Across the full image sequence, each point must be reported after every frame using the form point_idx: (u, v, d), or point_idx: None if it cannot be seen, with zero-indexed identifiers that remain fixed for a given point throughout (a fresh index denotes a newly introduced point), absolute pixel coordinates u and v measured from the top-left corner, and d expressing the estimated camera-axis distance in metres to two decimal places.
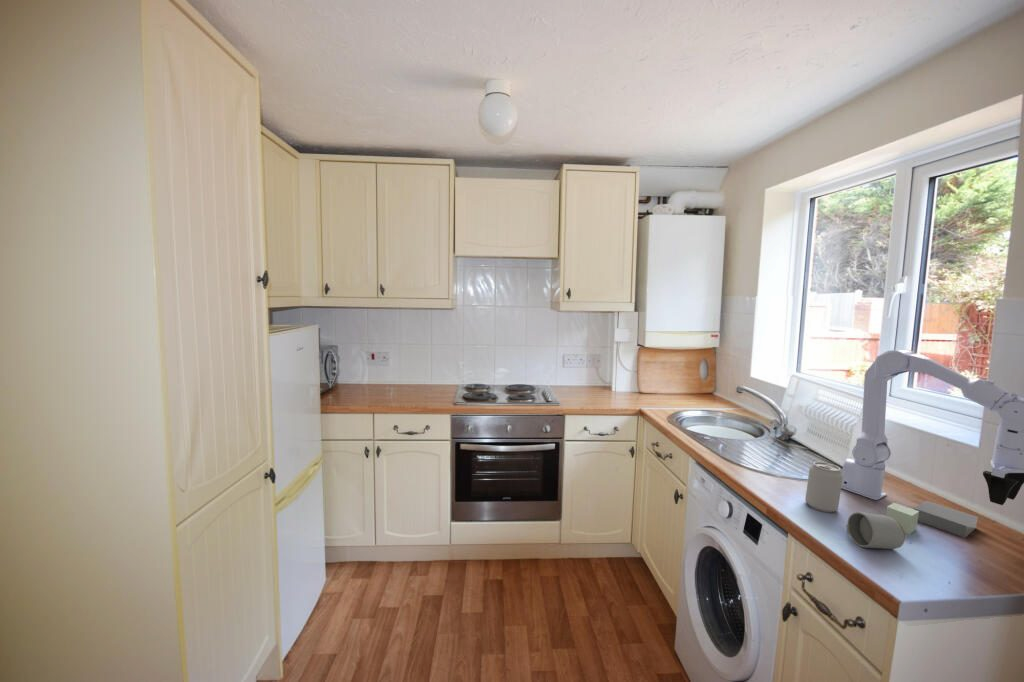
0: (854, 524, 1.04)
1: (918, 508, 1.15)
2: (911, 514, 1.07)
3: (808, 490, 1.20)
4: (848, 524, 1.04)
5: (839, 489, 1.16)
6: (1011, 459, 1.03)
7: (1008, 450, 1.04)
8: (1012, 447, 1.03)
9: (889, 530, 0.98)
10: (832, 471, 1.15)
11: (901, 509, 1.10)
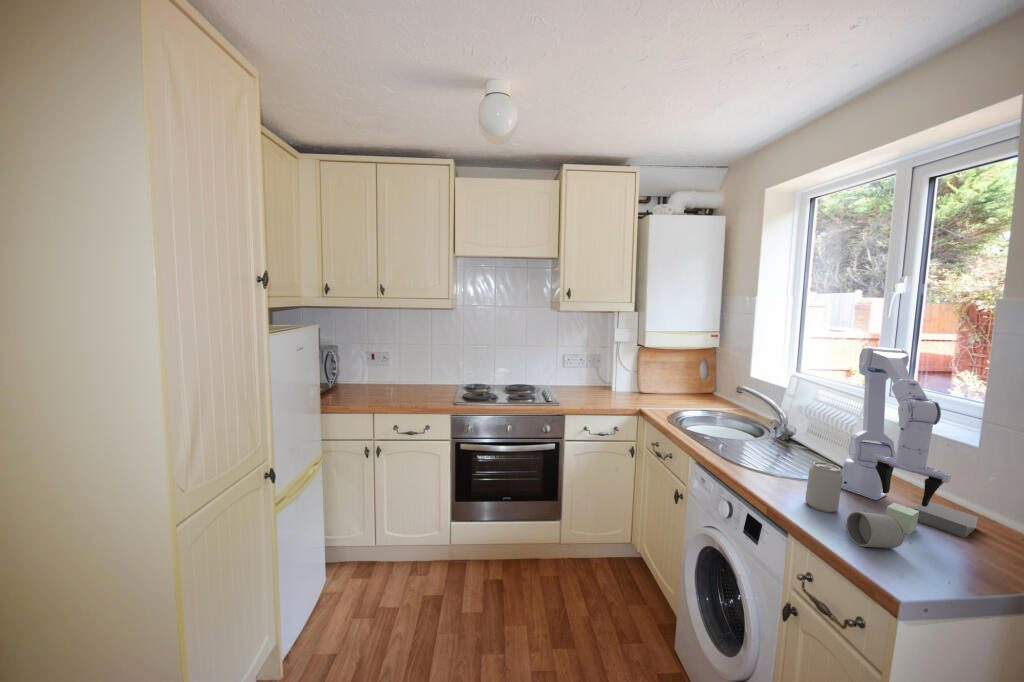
0: (853, 523, 1.05)
1: (918, 508, 1.15)
2: (911, 514, 1.07)
3: (808, 490, 1.20)
4: (847, 523, 1.05)
5: (839, 489, 1.16)
6: (896, 453, 1.11)
7: None
8: (900, 443, 1.09)
9: (888, 529, 0.98)
10: (832, 471, 1.15)
11: (901, 509, 1.10)
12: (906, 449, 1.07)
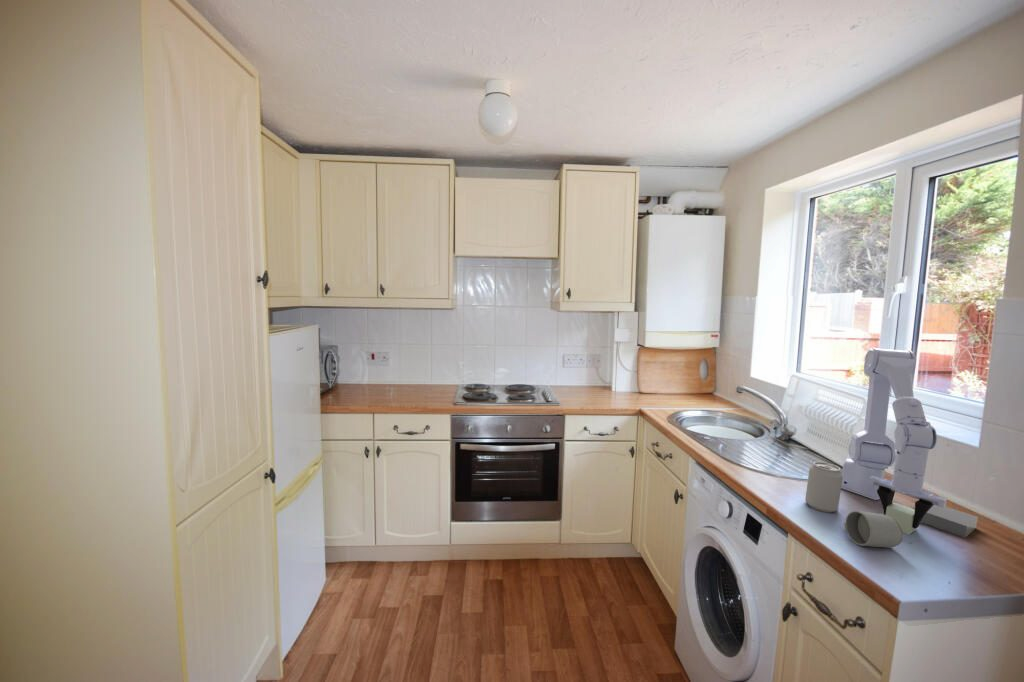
0: (852, 523, 1.05)
1: None
2: (911, 514, 1.07)
3: (808, 490, 1.20)
4: (846, 523, 1.05)
5: (839, 489, 1.16)
6: None
7: None
8: (896, 467, 1.10)
9: (887, 528, 0.98)
10: (832, 471, 1.16)
11: (901, 509, 1.10)
12: (902, 473, 1.08)
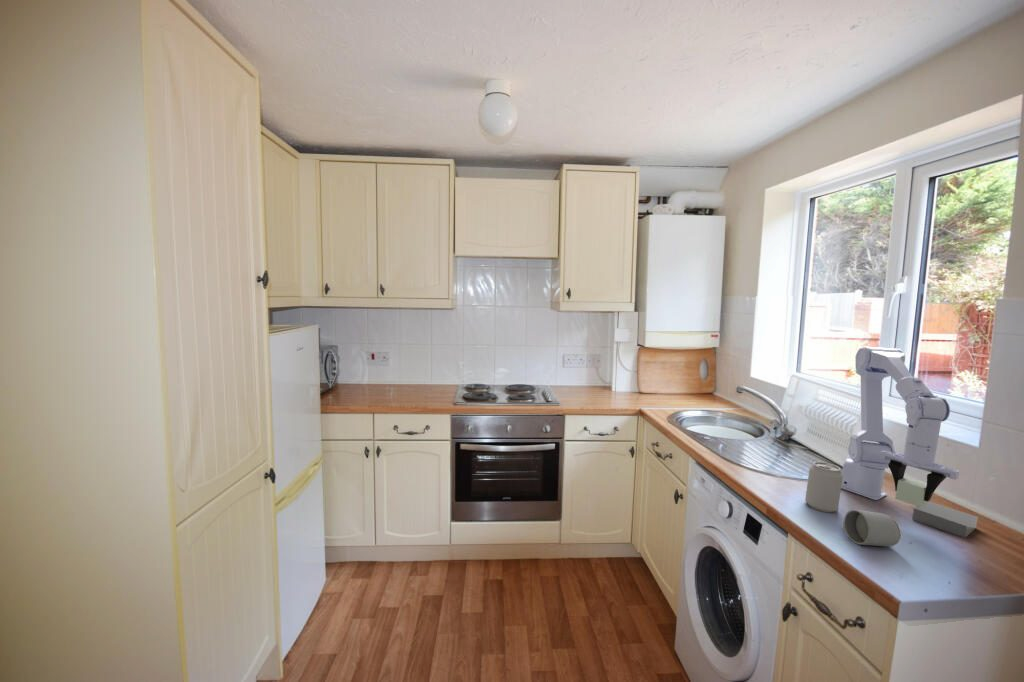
0: (850, 522, 1.06)
1: (918, 508, 1.15)
2: (923, 487, 1.07)
3: (808, 490, 1.20)
4: (845, 522, 1.06)
5: (839, 489, 1.16)
6: (904, 450, 1.11)
7: None
8: (909, 441, 1.09)
9: (885, 527, 0.99)
10: (832, 471, 1.15)
11: (913, 482, 1.10)
12: (914, 446, 1.08)
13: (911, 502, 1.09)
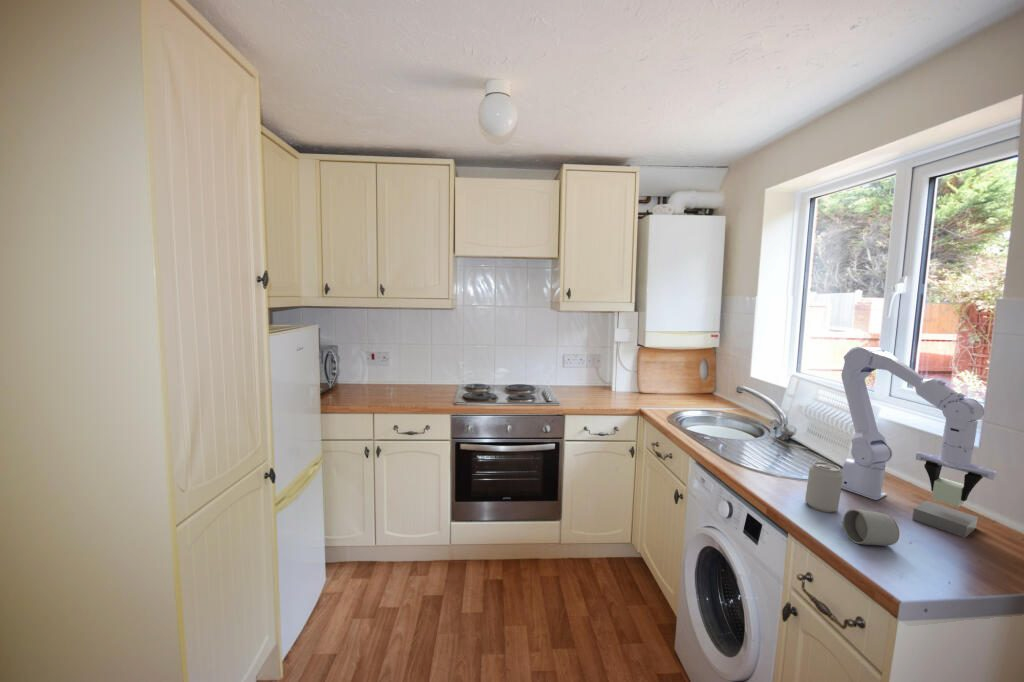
0: (849, 521, 1.06)
1: (918, 508, 1.15)
2: (960, 487, 1.10)
3: (808, 490, 1.20)
4: (844, 521, 1.06)
5: (839, 489, 1.16)
6: (940, 451, 1.14)
7: None
8: (954, 444, 1.10)
9: (884, 526, 0.99)
10: (832, 471, 1.15)
11: (949, 483, 1.12)
12: (951, 447, 1.11)
13: (948, 502, 1.11)
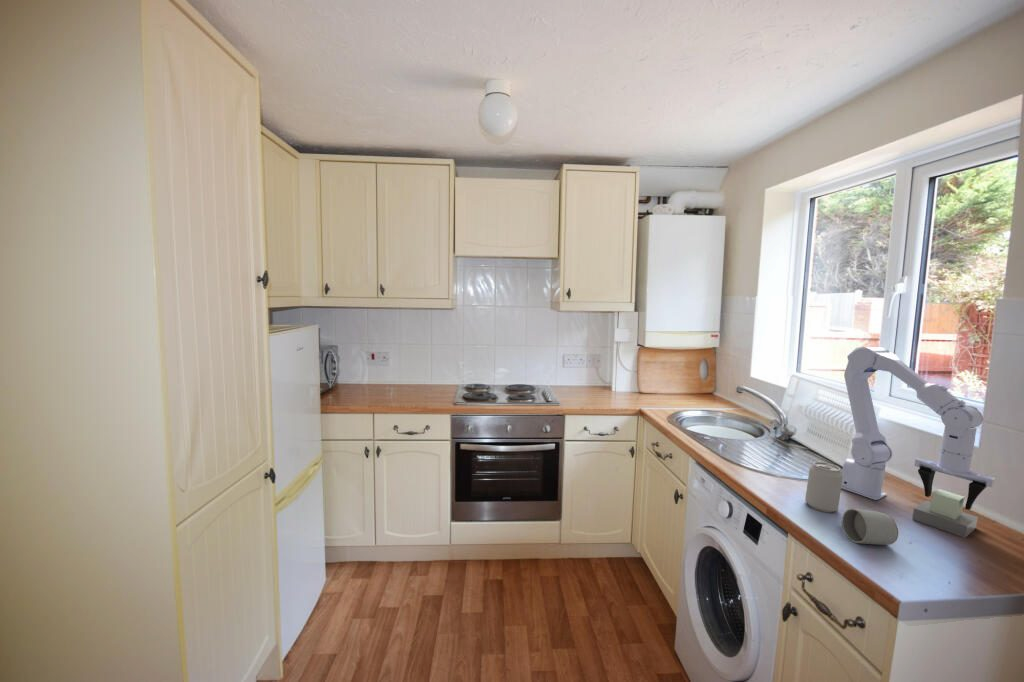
0: (848, 520, 1.06)
1: (918, 508, 1.15)
2: (958, 499, 1.10)
3: (808, 490, 1.20)
4: (843, 520, 1.06)
5: (839, 489, 1.16)
6: (939, 457, 1.14)
7: None
8: (953, 451, 1.10)
9: (883, 526, 0.99)
10: (832, 471, 1.15)
11: (947, 495, 1.13)
12: (950, 454, 1.11)
13: (945, 514, 1.12)
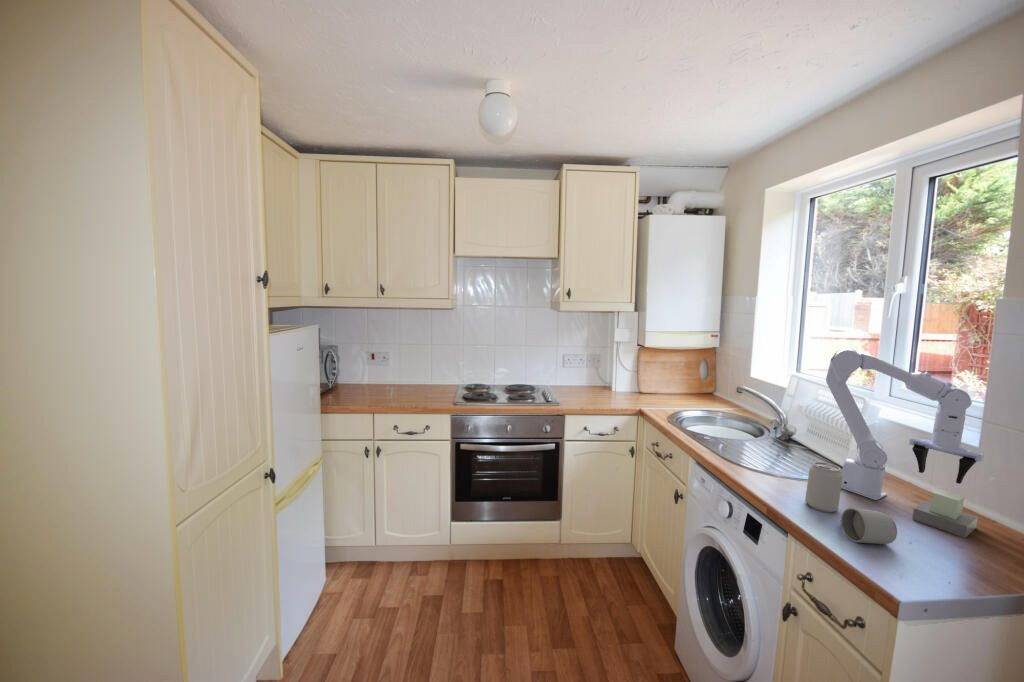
0: (847, 520, 1.06)
1: (918, 508, 1.15)
2: (958, 499, 1.10)
3: (808, 490, 1.20)
4: (842, 520, 1.06)
5: (839, 489, 1.16)
6: (932, 436, 1.22)
7: None
8: (953, 431, 1.17)
9: (881, 525, 1.00)
10: (832, 471, 1.15)
11: (947, 495, 1.13)
12: (942, 432, 1.19)
13: (945, 514, 1.12)
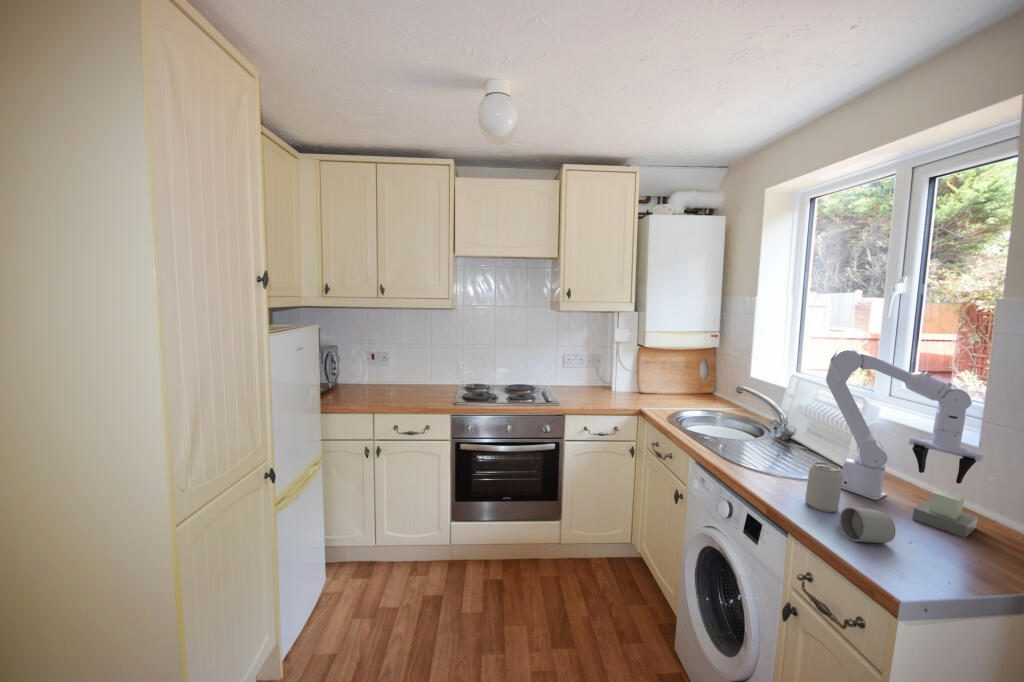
0: (846, 519, 1.07)
1: (918, 508, 1.15)
2: (958, 499, 1.10)
3: (808, 490, 1.20)
4: (840, 519, 1.07)
5: (839, 489, 1.16)
6: (932, 436, 1.22)
7: None
8: (953, 431, 1.17)
9: (880, 524, 1.00)
10: (832, 471, 1.15)
11: (947, 495, 1.13)
12: (942, 432, 1.19)
13: (945, 514, 1.12)
